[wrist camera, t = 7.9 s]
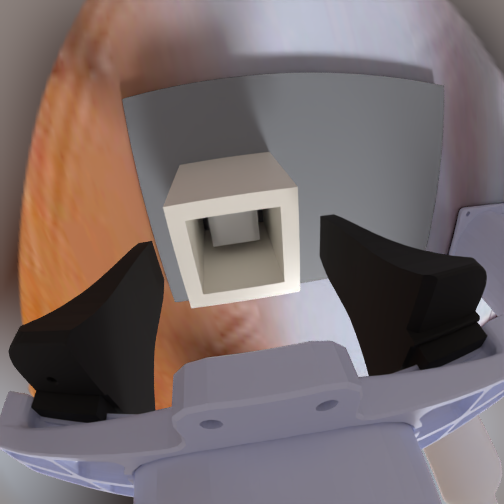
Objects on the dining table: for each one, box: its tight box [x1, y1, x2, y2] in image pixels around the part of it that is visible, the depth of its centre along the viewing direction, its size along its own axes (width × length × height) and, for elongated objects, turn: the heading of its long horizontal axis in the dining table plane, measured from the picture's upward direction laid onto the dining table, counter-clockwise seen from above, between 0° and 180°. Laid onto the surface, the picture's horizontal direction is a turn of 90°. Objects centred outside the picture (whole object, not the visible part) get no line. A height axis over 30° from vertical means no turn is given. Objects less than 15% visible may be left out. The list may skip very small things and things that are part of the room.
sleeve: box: [163, 152, 300, 308], centre depth 14 cm, size 5×5×6 cm
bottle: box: [423, 415, 502, 504], centre depth 20 cm, size 8×8×30 cm
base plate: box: [122, 73, 444, 302], centre depth 16 cm, size 20×14×4 cm
